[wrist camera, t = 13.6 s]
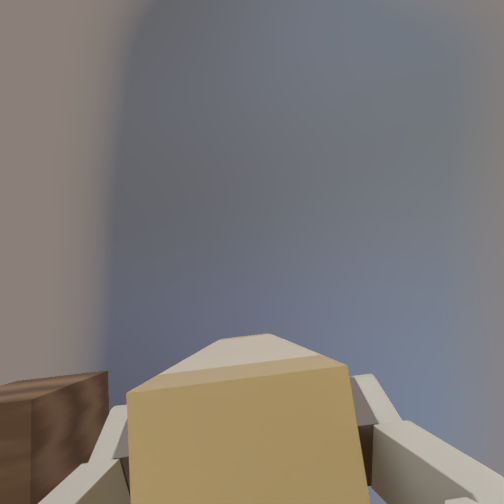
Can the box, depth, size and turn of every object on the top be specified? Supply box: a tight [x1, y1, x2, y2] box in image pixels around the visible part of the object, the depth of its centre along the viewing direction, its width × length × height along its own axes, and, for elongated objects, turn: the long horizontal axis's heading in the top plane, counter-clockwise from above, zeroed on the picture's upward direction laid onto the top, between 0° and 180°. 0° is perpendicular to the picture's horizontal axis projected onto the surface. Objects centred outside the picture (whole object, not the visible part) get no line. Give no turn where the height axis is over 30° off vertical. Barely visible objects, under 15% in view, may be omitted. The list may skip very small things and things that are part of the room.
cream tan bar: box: [126, 333, 370, 504], centre depth 15 cm, size 20×4×4 cm, turn 1°
